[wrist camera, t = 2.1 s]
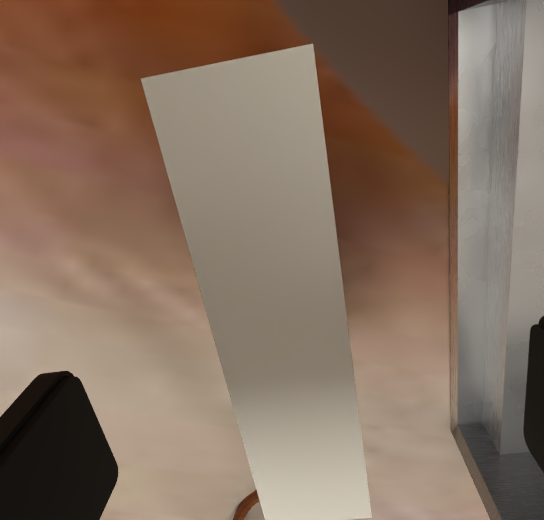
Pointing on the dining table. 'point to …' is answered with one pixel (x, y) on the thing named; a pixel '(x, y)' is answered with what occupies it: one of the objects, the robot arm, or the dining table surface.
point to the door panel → (269, 270)
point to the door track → (496, 242)
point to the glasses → (246, 506)
